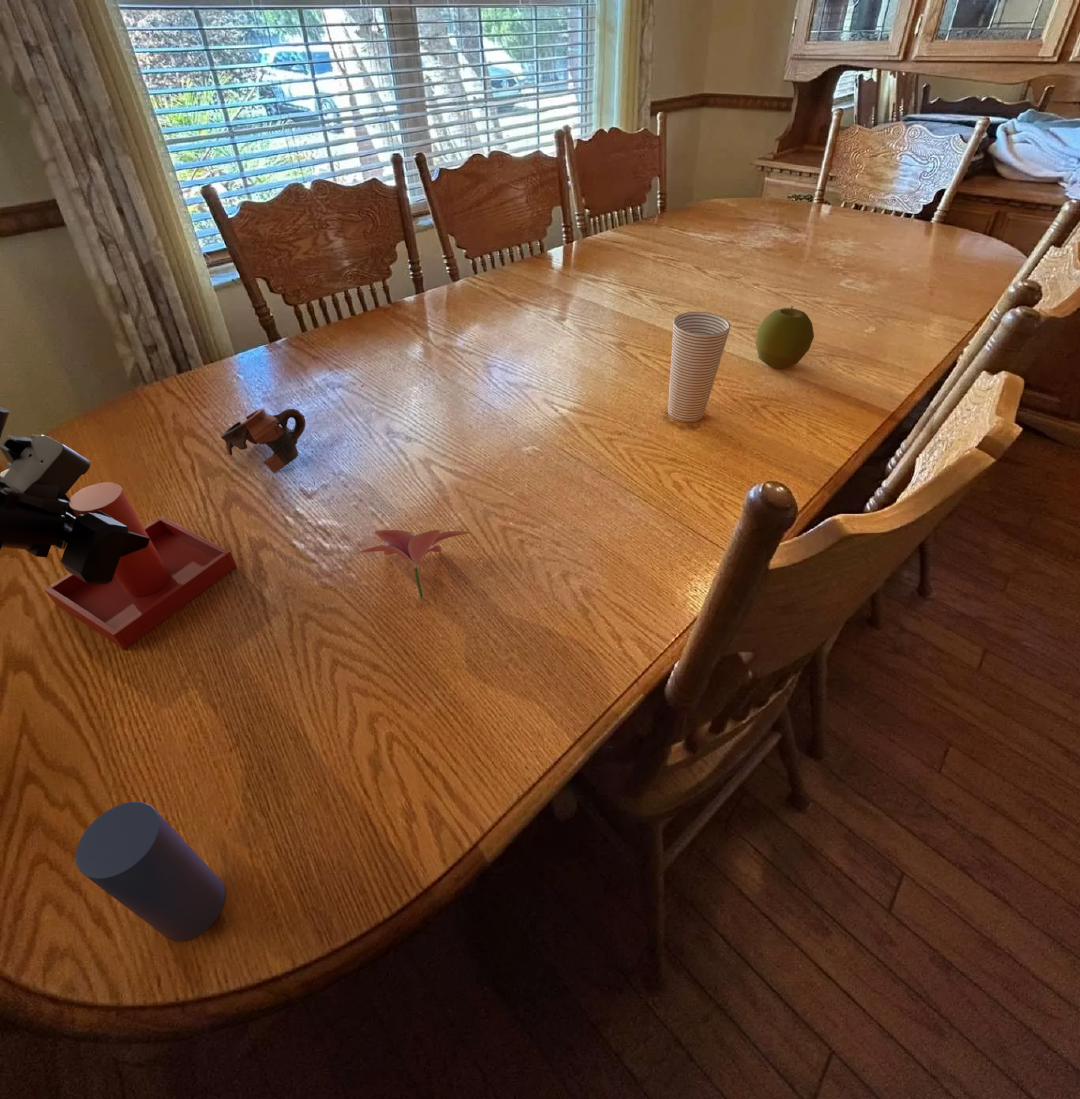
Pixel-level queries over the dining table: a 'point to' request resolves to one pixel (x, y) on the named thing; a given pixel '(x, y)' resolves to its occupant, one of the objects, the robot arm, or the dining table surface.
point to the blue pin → (151, 871)
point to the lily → (411, 545)
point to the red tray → (134, 617)
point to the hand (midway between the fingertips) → (133, 534)
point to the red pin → (140, 567)
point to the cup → (694, 362)
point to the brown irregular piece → (268, 435)
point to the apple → (784, 337)
